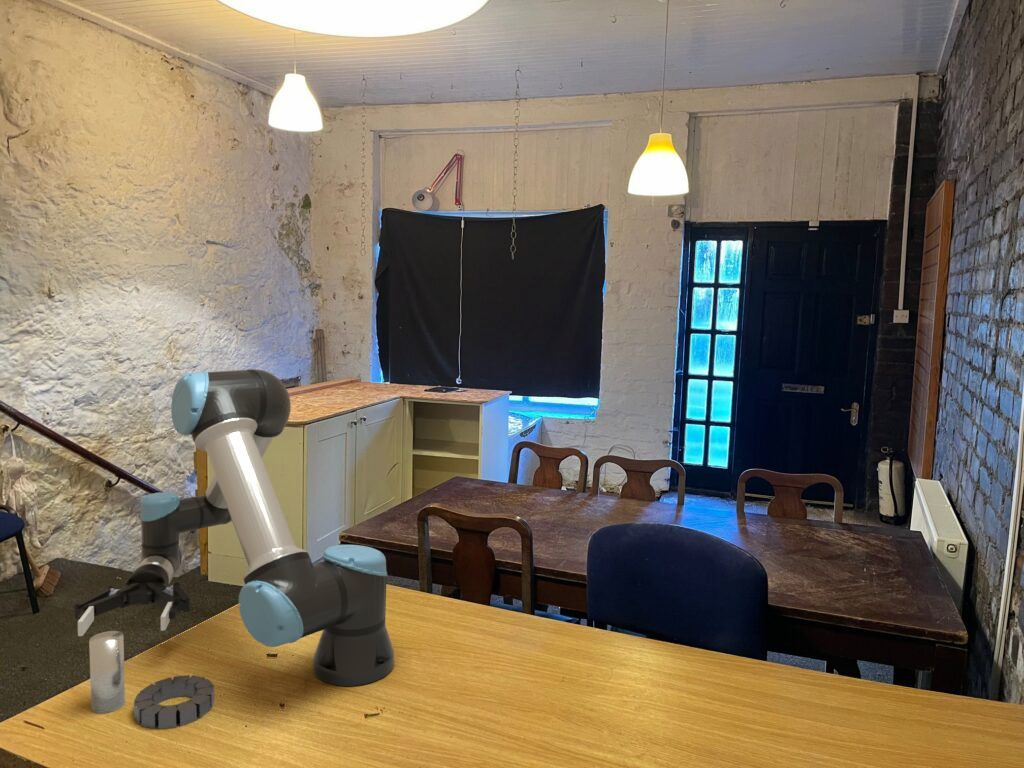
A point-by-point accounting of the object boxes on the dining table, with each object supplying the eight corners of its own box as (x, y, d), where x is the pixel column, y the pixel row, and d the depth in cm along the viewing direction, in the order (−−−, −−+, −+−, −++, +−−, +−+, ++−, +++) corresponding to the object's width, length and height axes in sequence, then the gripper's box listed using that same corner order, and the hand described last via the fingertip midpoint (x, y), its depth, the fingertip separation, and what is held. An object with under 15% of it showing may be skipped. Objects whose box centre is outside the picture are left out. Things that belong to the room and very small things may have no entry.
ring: (218, 685, 128) (218, 672, 127) (207, 723, 116) (207, 709, 116) (145, 692, 125) (144, 679, 124) (126, 732, 113) (126, 717, 113)
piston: (128, 695, 123) (126, 629, 122) (120, 711, 119) (118, 643, 117) (96, 698, 122) (94, 632, 121) (87, 715, 117) (84, 645, 116)
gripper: (213, 594, 153) (196, 640, 133) (84, 601, 147) (45, 651, 126) (213, 560, 152) (195, 602, 132) (83, 566, 146) (43, 611, 125)
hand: (121, 626), depth 129 cm, fingers open, 13 cm apart
